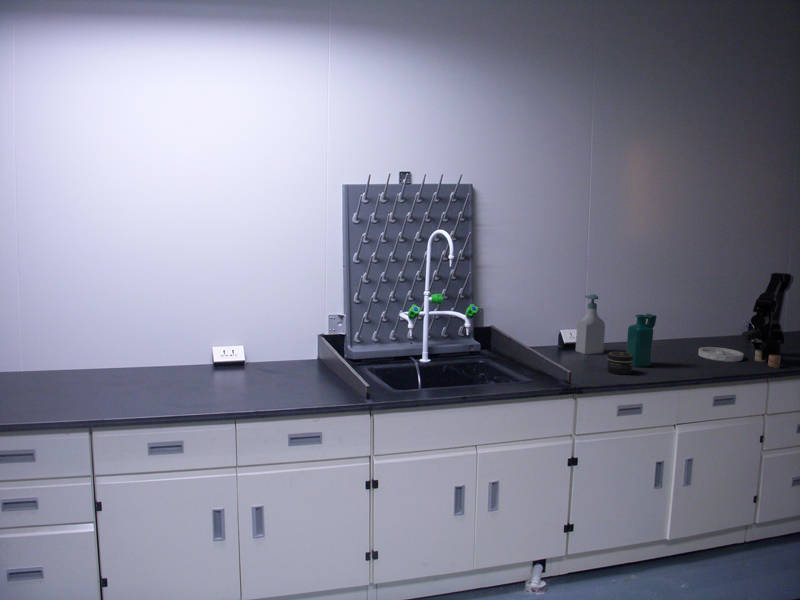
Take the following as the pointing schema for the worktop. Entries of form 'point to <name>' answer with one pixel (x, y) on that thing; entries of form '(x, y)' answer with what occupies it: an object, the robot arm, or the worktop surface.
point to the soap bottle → (590, 331)
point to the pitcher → (641, 340)
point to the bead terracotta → (774, 361)
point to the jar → (619, 363)
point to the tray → (720, 354)
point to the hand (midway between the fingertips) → (760, 358)
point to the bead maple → (759, 355)
